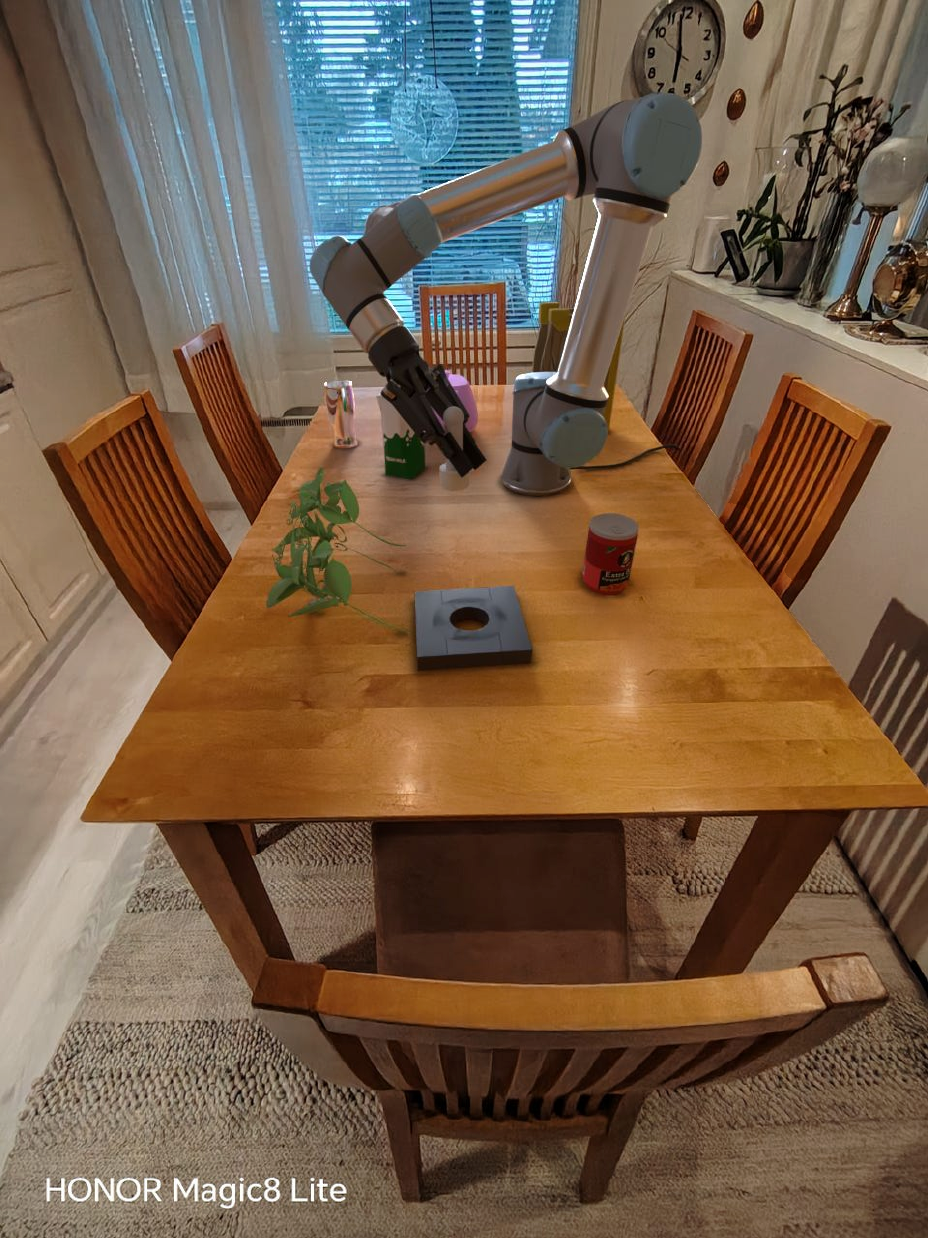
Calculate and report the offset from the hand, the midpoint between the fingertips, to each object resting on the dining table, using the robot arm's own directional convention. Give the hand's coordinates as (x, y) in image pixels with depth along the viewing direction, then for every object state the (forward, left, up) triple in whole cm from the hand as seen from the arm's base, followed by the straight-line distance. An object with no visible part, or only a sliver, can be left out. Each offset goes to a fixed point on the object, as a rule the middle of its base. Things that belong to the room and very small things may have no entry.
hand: (474, 468), depth 92 cm
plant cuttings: (+21, +9, -18) cm, 30 cm away
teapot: (+1, -69, -18) cm, 71 cm away
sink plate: (+3, +18, -18) cm, 26 cm away
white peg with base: (+3, -3, -4) cm, 5 cm away
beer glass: (+27, -62, -18) cm, 70 cm away
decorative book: (-32, -66, -18) cm, 76 cm away
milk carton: (+12, -43, -18) cm, 48 cm away
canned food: (-21, +7, -18) cm, 29 cm away
